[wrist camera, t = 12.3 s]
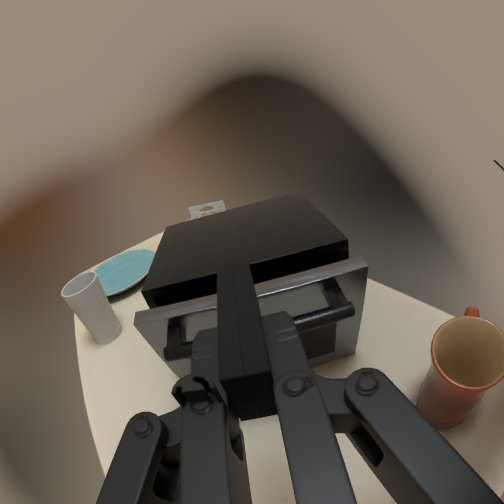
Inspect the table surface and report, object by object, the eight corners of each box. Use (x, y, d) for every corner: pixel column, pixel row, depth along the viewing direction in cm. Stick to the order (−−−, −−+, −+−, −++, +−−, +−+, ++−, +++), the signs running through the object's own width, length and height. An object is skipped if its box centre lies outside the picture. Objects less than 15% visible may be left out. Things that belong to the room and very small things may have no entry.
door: (363, 372, 31) (385, 289, 21) (194, 413, 31) (129, 353, 21) (350, 343, 34) (361, 254, 25) (192, 382, 34) (135, 311, 25)
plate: (176, 262, 68) (173, 252, 67) (109, 316, 53) (103, 306, 52) (132, 253, 81) (128, 245, 79) (76, 293, 66) (71, 285, 64)
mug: (466, 443, 16) (509, 395, 12) (398, 429, 22) (421, 380, 17) (480, 361, 24) (507, 301, 19) (425, 350, 29) (441, 289, 25)
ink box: (203, 243, 74) (190, 203, 69) (236, 237, 73) (225, 196, 67) (200, 248, 72) (187, 207, 66) (235, 242, 70) (223, 200, 65)
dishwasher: (350, 343, 35) (348, 238, 27) (193, 382, 35) (140, 291, 27) (312, 275, 51) (300, 192, 43) (197, 304, 51) (166, 226, 43)
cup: (87, 336, 48) (58, 288, 42) (116, 315, 53) (89, 267, 47) (100, 353, 43) (65, 302, 37) (131, 329, 48) (102, 277, 42)
